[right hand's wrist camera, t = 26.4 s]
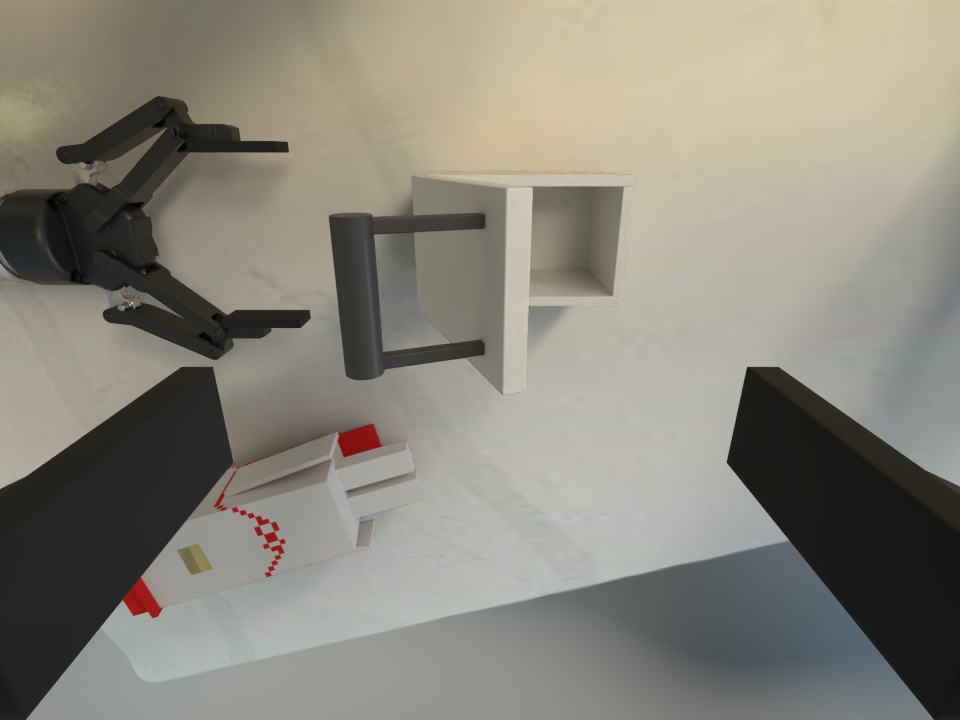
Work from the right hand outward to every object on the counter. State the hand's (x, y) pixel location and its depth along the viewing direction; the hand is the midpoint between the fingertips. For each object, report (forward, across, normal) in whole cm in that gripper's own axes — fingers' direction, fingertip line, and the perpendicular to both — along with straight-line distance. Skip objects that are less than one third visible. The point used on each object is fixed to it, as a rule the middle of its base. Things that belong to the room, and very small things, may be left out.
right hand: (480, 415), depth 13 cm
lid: (+19, -1, 0) cm, 19 cm away
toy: (+39, -22, -28) cm, 53 cm away
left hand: (+30, -15, 0) cm, 34 cm away
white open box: (+39, +4, 0) cm, 39 cm away
